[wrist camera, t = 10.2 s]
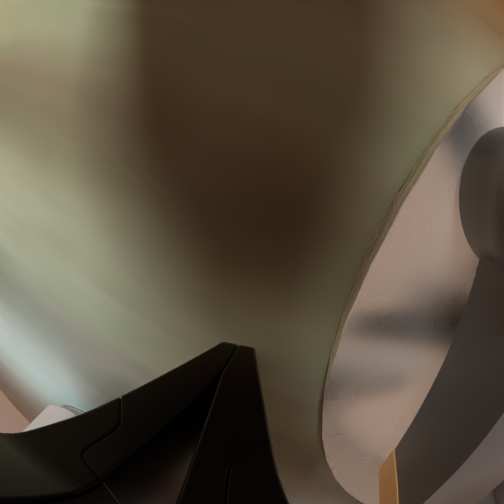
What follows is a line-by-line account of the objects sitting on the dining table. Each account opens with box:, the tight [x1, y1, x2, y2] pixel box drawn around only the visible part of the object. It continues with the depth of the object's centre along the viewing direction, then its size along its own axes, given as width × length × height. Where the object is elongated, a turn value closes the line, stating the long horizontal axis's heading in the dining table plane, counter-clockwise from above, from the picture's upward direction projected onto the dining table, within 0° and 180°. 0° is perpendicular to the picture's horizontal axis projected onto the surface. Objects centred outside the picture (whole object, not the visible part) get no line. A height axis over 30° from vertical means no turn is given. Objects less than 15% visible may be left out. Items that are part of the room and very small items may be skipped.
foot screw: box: [379, 126, 504, 504], centre depth 5 cm, size 11×4×4 cm, turn 177°
